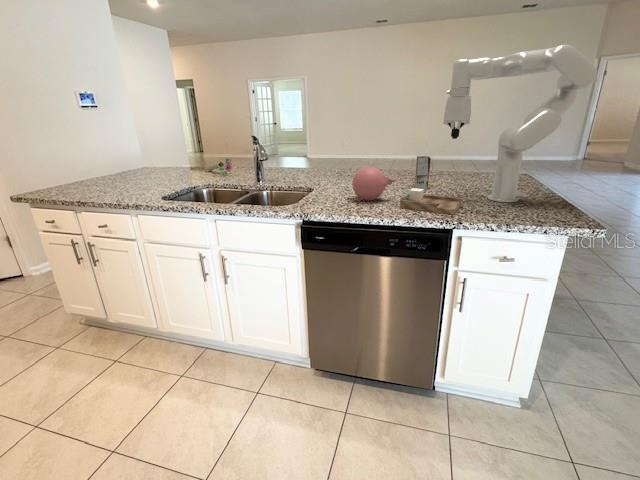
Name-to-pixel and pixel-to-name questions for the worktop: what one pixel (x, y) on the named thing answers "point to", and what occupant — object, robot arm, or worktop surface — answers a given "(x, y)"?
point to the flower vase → (220, 166)
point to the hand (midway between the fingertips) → (454, 138)
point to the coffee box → (422, 172)
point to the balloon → (370, 183)
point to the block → (416, 194)
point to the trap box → (432, 204)
